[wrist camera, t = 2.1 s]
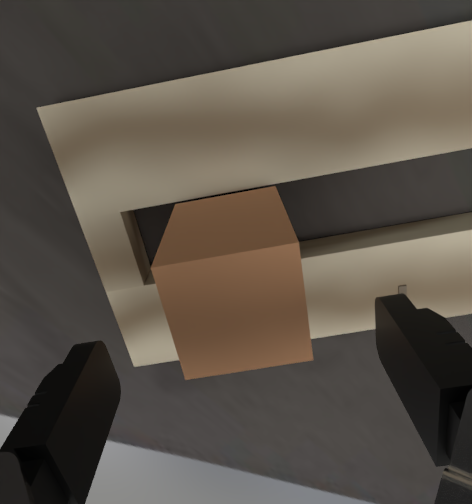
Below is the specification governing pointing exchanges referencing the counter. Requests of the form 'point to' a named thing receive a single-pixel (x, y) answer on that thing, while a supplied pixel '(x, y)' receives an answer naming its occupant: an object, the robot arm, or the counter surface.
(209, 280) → the fader knob
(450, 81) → the board
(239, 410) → the counter surface
